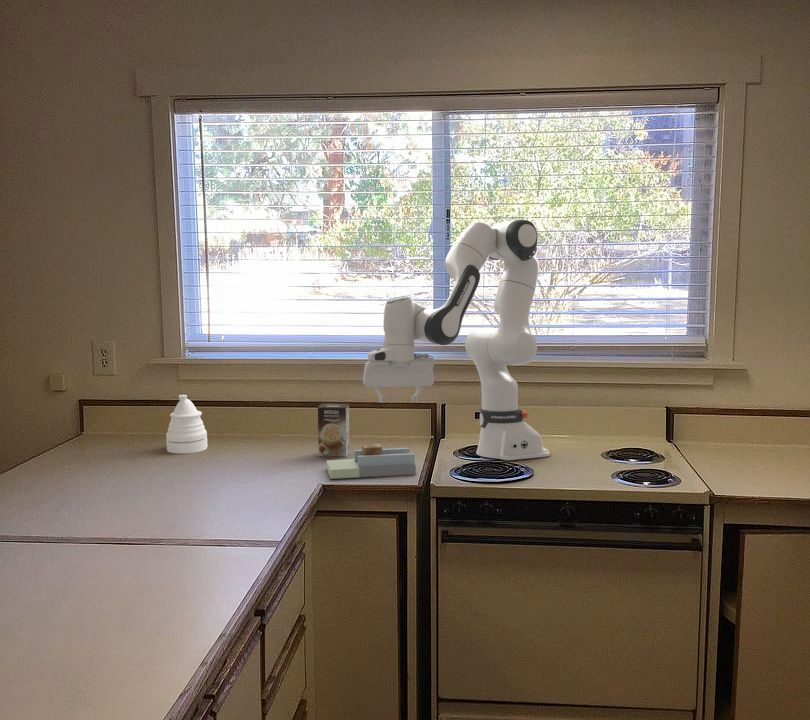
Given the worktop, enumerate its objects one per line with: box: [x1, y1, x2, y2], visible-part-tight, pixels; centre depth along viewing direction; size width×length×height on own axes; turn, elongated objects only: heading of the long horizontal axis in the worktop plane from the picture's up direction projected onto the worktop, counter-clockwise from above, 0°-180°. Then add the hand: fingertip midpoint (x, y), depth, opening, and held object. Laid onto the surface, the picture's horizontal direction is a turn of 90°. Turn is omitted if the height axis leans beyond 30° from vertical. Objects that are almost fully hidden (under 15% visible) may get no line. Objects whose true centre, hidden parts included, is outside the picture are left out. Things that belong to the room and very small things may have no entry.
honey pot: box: [165, 394, 209, 454], centre depth 256 cm, size 13×13×18 cm
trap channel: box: [325, 447, 417, 480], centre depth 225 cm, size 24×12×6 cm, turn 101°
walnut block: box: [361, 443, 383, 456], centre depth 225 cm, size 5×5×5 cm
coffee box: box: [317, 403, 350, 458], centre depth 245 cm, size 9×6×16 cm
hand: (398, 402), depth 225 cm, fingers open, 8 cm apart
